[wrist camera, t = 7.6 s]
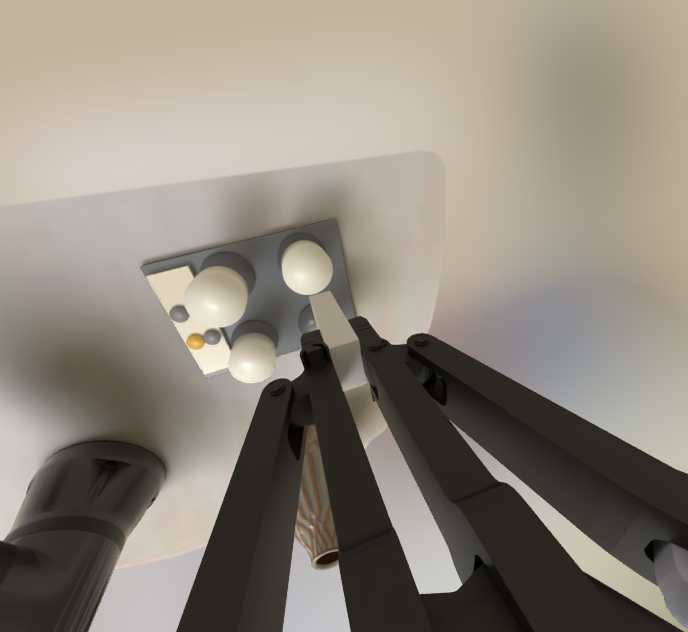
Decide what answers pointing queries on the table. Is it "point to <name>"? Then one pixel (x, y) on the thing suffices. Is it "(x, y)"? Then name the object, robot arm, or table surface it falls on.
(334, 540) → the vase
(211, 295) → the button
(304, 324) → the board
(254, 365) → the button
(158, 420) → the table surface
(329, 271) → the button
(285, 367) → the table surface
